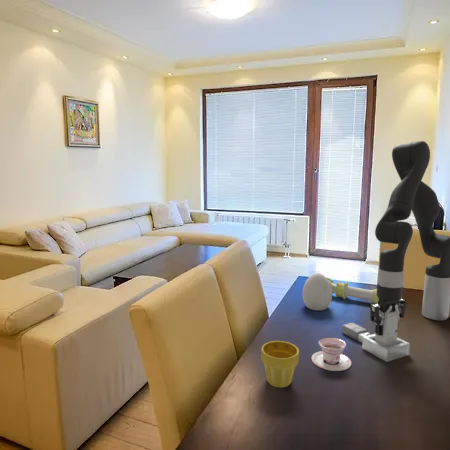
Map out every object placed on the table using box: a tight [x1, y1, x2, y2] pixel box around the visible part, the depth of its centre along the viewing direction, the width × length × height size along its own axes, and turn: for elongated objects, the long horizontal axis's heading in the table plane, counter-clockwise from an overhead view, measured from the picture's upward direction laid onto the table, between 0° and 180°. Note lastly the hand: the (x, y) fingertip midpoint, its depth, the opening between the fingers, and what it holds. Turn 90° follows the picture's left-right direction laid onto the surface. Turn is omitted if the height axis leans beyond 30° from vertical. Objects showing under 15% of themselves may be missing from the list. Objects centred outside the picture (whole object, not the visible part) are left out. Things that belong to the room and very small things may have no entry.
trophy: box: [326, 277, 379, 305], centre depth 175 cm, size 8×8×30 cm
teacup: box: [310, 337, 352, 372], centre depth 119 cm, size 12×12×6 cm
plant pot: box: [260, 340, 300, 389], centre depth 108 cm, size 10×10×10 cm
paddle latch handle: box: [341, 322, 411, 363], centre depth 131 cm, size 10×22×4 cm, turn 27°
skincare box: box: [374, 311, 399, 347], centre depth 125 cm, size 6×4×12 cm
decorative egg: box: [302, 272, 333, 311], centre depth 164 cm, size 12×12×15 cm
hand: (386, 332), depth 125 cm, fingers closed on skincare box, 6 cm apart
